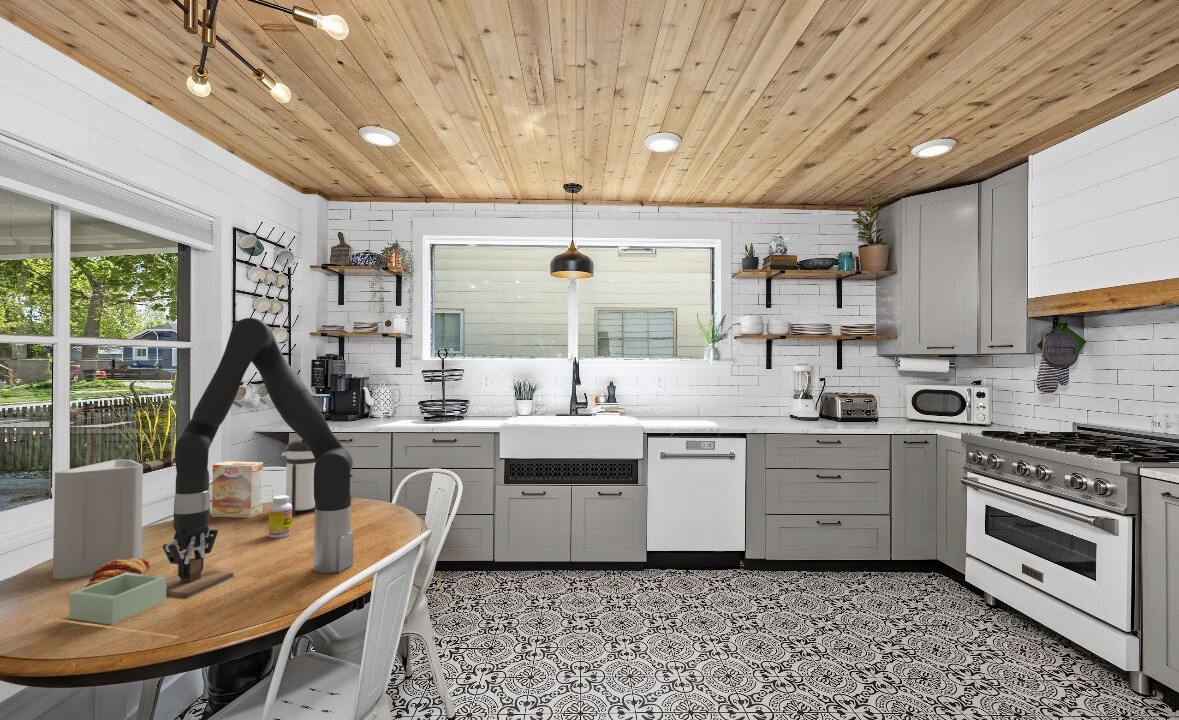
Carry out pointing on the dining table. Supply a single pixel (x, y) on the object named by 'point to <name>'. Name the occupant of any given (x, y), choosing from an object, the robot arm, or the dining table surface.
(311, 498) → the coffee press
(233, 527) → the dining table surface
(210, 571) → the lid
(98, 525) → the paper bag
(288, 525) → the supplement bottle
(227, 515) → the coffeecake box
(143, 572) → the croissant
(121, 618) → the green box
